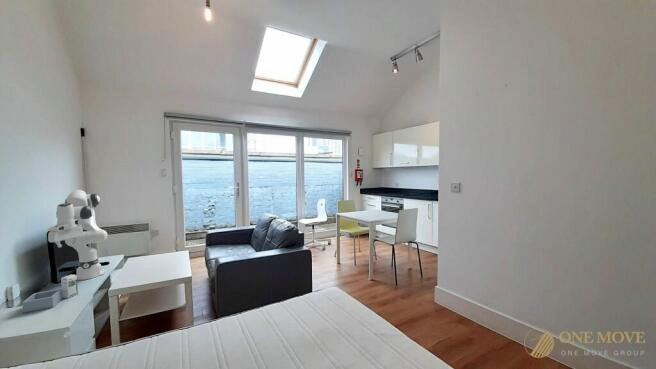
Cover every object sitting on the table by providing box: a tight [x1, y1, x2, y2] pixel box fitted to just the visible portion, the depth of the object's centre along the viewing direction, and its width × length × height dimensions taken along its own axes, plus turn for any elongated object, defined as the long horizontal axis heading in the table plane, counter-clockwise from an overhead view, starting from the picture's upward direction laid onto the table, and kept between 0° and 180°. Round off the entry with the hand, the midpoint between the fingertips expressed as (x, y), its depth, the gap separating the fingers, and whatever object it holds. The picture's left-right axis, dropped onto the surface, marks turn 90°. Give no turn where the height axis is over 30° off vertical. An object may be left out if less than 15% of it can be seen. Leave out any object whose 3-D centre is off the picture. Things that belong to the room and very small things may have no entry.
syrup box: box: [60, 274, 79, 299], centre depth 178 cm, size 6×6×14 cm
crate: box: [21, 288, 64, 314], centre depth 165 cm, size 14×14×7 cm
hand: (67, 245), depth 179 cm, fingers open, 8 cm apart
